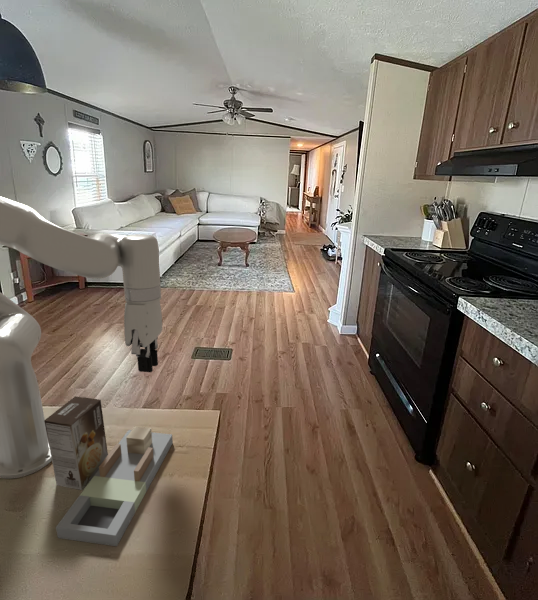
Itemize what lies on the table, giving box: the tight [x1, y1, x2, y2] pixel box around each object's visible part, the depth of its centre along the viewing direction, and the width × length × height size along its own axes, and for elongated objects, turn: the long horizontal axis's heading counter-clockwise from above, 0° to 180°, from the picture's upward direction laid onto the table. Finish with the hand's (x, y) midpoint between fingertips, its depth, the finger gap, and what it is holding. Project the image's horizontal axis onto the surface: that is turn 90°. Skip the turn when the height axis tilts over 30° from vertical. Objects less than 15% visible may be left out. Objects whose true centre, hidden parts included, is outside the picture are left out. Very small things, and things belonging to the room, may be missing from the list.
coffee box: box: [44, 396, 109, 491], centre depth 78 cm, size 9×6×16 cm
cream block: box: [126, 426, 152, 454], centre depth 84 cm, size 4×4×4 cm
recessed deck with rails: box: [55, 429, 174, 547], centre depth 78 cm, size 11×27×5 cm, turn 173°
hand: (148, 367), depth 87 cm, fingers closed
